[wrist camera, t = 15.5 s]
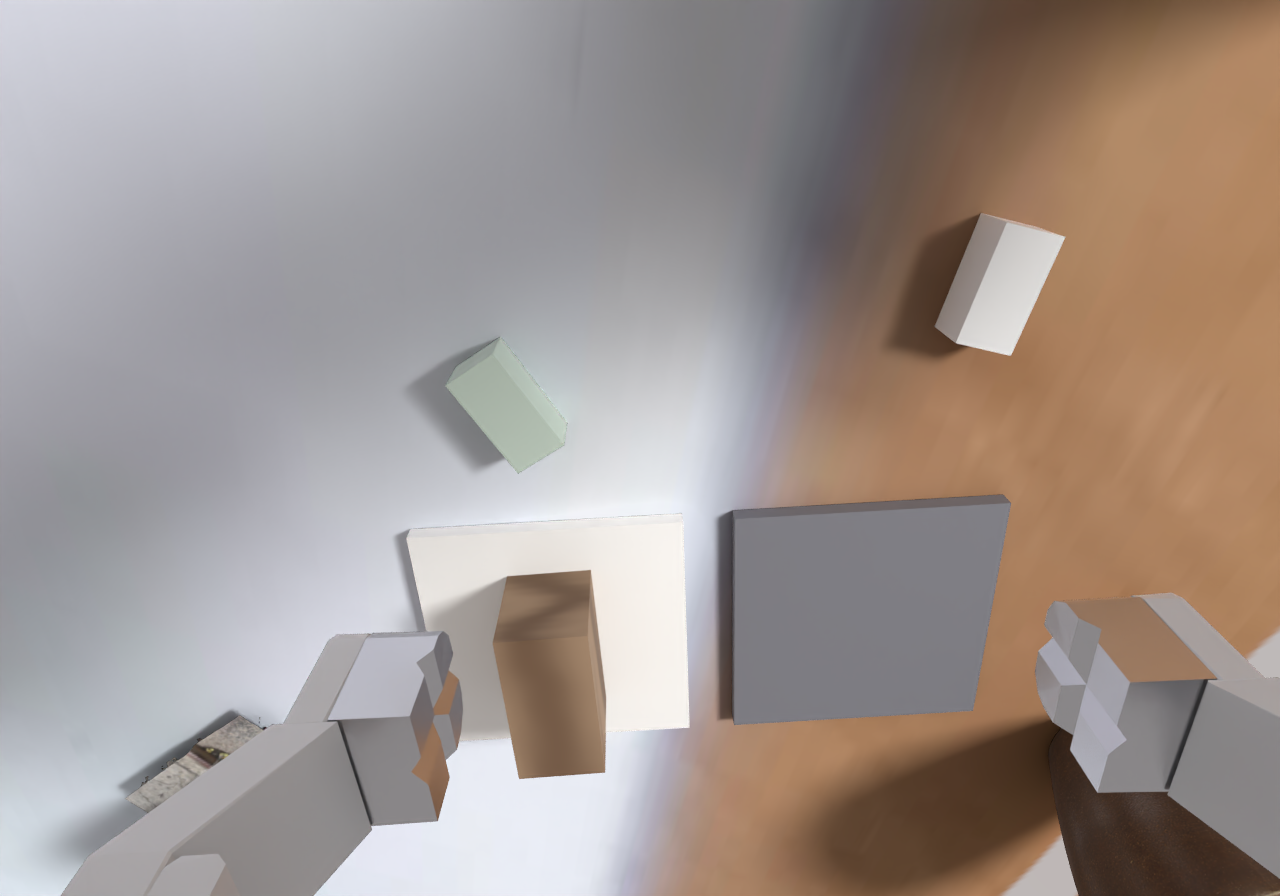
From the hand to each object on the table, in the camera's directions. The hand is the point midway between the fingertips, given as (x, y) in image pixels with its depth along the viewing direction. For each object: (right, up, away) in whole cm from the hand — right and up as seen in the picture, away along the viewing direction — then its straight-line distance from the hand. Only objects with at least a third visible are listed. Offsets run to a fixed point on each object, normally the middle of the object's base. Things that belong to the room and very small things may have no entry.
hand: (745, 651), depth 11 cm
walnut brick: (-6, -9, +37) cm, 39 cm away
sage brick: (-8, +6, +31) cm, 33 cm away
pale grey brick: (+16, +12, +29) cm, 36 cm away
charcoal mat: (+12, -8, +38) cm, 41 cm away
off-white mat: (-7, -9, +38) cm, 40 cm away
